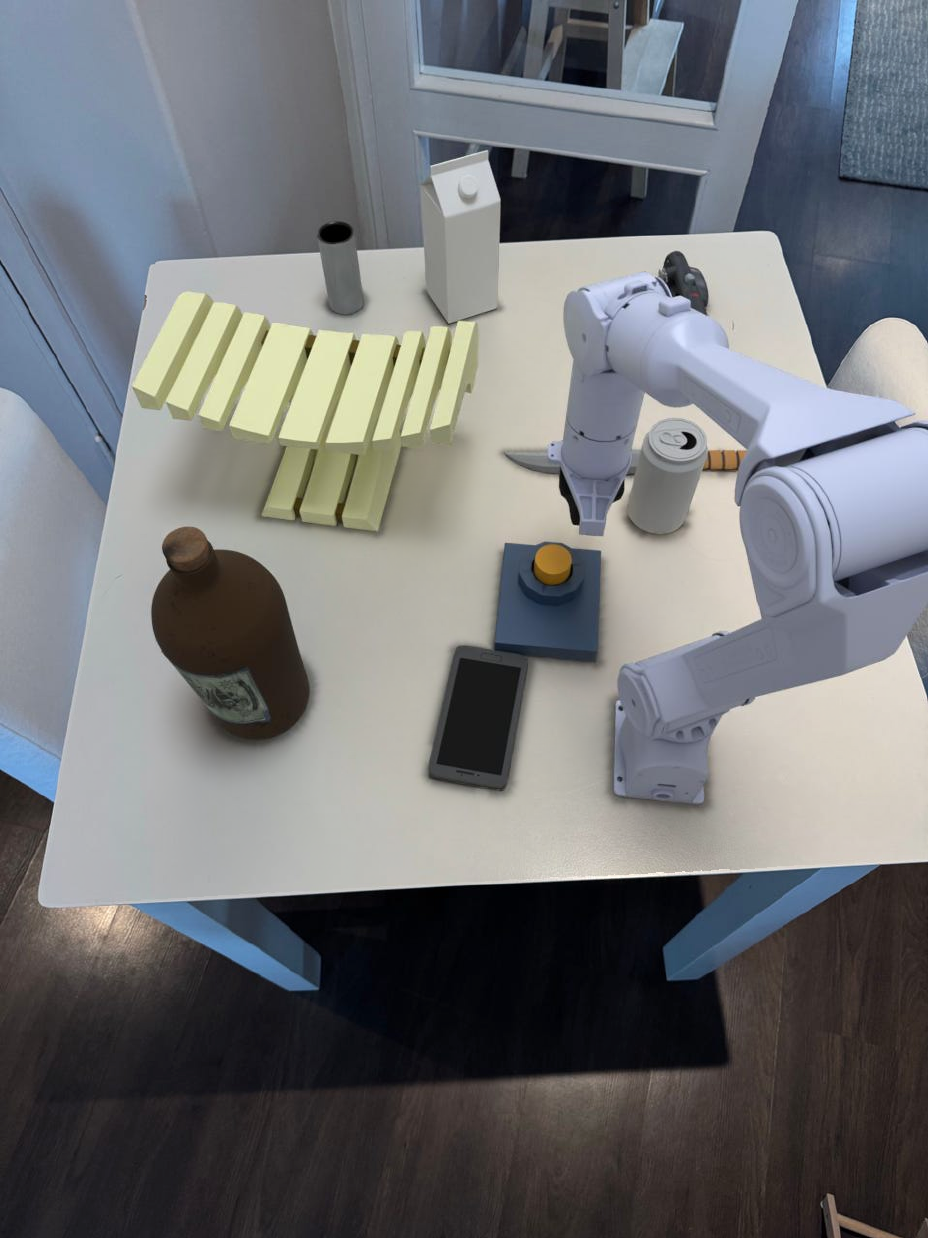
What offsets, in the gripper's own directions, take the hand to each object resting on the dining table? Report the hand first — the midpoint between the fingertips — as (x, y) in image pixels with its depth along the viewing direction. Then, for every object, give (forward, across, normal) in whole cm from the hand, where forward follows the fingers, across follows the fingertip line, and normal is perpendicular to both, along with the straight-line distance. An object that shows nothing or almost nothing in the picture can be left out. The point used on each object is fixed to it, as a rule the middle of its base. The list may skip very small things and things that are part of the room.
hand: (583, 519), depth 78 cm
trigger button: (+7, +1, -2) cm, 7 cm away
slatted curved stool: (+11, -13, -27) cm, 32 cm away
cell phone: (+10, +16, -8) cm, 21 cm away
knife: (+11, -17, +7) cm, 21 cm away
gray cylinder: (+11, -41, -31) cm, 52 cm away
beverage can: (+11, -10, +9) cm, 17 cm away
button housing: (+10, +3, -2) cm, 11 cm away
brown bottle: (+11, +16, -30) cm, 35 cm away
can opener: (+11, -40, +13) cm, 44 cm away
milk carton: (+11, -43, -16) cm, 47 cm away
